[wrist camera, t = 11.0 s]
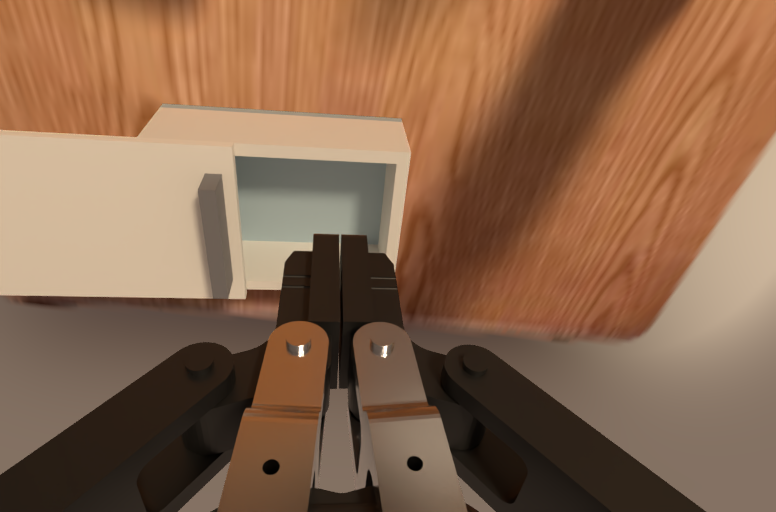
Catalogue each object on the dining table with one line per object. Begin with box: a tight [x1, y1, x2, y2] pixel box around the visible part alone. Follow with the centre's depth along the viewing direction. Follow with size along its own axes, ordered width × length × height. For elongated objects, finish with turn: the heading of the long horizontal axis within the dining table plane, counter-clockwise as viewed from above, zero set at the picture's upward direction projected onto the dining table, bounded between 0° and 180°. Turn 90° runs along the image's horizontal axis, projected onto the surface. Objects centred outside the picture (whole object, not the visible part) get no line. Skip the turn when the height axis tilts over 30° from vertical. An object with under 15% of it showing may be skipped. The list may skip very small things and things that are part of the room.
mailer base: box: [137, 104, 411, 290], centre depth 44 cm, size 20×14×7 cm
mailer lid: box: [0, 130, 247, 299], centre depth 38 cm, size 20×14×3 cm
